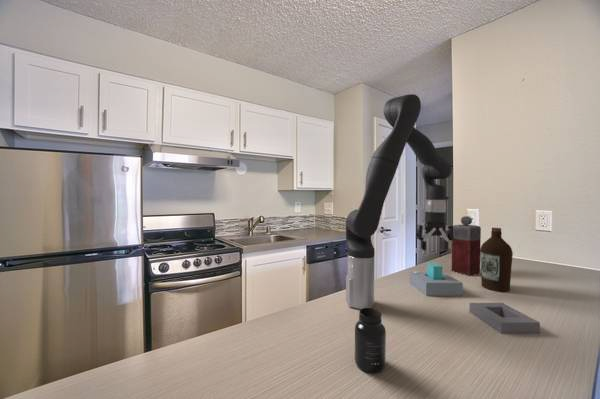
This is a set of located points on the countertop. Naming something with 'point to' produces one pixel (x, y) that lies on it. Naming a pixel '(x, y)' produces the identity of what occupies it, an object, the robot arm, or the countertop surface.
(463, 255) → the red canister
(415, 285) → the block
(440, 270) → the plug
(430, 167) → the robot arm
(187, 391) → the countertop surface
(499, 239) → the brown glass bottle
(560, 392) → the countertop surface
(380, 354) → the supplement bottle
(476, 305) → the holster
